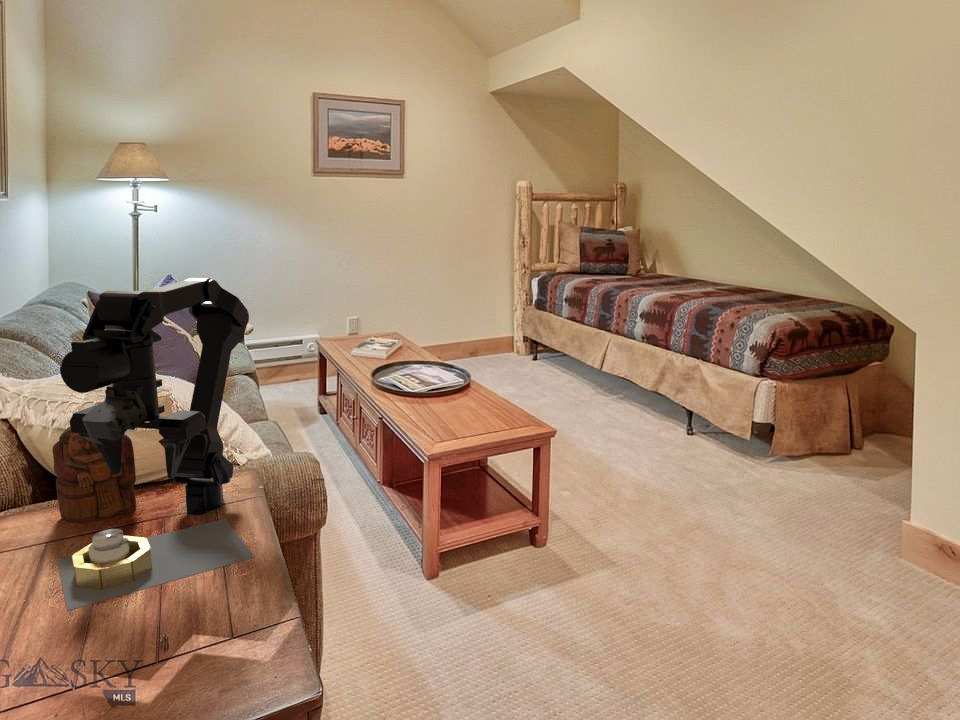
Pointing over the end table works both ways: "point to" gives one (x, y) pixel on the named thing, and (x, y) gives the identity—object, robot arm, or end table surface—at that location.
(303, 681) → the end table surface
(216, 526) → the mat
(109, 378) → the robot arm
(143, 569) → the brass ring
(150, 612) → the end table surface
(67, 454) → the wooden figurine
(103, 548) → the silver calibration weight
